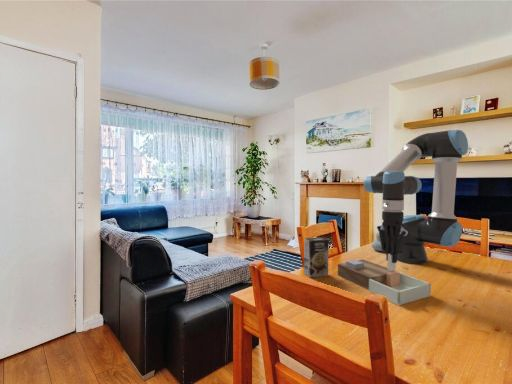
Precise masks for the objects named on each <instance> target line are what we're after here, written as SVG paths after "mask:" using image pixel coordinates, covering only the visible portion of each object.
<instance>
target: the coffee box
mask: <svg viewBox="0 0 512 384" xmlns="http://www.w3.org/2000/svg"><path fill="white" fill-rule="evenodd" d="M303 239H304V243H303V249H304V250H303V253H304V254H303V255H304V256H303V273H304V275H306V276H307V277H308V278H316V277H327V276H329V247H330V245H329V241H330V239H328V238H325V237H322V236H319V237H318V236H317V237H307V238H305V237H304V238H303Z"/></svg>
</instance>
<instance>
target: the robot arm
mask: <svg viewBox="0 0 512 384" xmlns="http://www.w3.org/2000/svg"><path fill="white" fill-rule="evenodd" d="M468 150H469V143H468V138H467V135H466V134H465V132H464V131H463V130H461V129H452V130H451V129H449V130H444V131H436V132H435V131H433V132H427V133H423V134H420V135H418V136H416V137H415V138H412V139H411V140H410V141H408V142H407V143H406V144H405V145H403V147H402V148H401V151H399V153H398V154H397V155H396V156H395V157H393V158H392V159H391V161H389V162H388V163H387V164H386V165H385V166H384V167H383V168H382V169H381V170H379V172H378V173H377V174H376V175H370V176H366V177H365V179H364V180H363V187H364V190H365V191H366V192H367V193H373V194H382V208H381V209H382V211H381V220H383V221H382V224H381V225H377V227H376V229H377V231H378V233H379V235H380V241H381V247H382V250H384V251H386V252H385V253H386V255H385V256H386V257H385V258H386V259H385V260H386V261H387V267H386V268H387V270H389V271H393V270H394V271H397V270H396V269H397V268H396V266H397V265H396V264H397V263H398V261H399V262H401V263H402V262H403V263H406V264H414V265H423V264H427V263H428V262H429V260H428V257H429V256H428V255H427V251H426V249H425V243H426V244H432V245H438V246H441V247H451V248H452V247H455V246H457V244H458V243H459V242H460V239H461V237H462V233H463V225H462V223H461V222H459V221H458V217H457V216H456V215H455V202H456V201H455V199H456V198H455V197H456V187H457V186H456V185H457V172H458V163H459V162H460V161H462V159H463V158H462V157H463V156H464V155H466V154H468V152H469V151H468ZM428 157H429V158H430V157H431V161H433V162H434V173H433V174H434V177H433V188H432V189H433V191H432V192H433V193H432V204H431V213H429V214H428V215H427V218H426V216H425V215H424V214H413V215H410V214H409V215H405V214H404V211H405V195H406V196H407V195H414V194H417V193H419V192H420V191H421V190H422V186H423V185H422V181H421V179H420V178H418V177H417V176H415V175H405V171H406V170H407V169H408V168H409V167H410V166H411V165H412V164H413V163H414V162H417V161H419V160H420V159H421V158H428Z"/></svg>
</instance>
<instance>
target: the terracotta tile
mask: <svg viewBox="0 0 512 384" xmlns="http://www.w3.org/2000/svg"><path fill="white" fill-rule="evenodd" d="M396 271H397V270H394V272H389V273H387V276H386V286H389V287H394V286H398V285H400V273H401V272H399V271H397V272H396Z"/></svg>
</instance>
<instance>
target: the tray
mask: <svg viewBox="0 0 512 384" xmlns="http://www.w3.org/2000/svg"><path fill="white" fill-rule="evenodd" d="M399 273H400V285H398V286H394V287H389V286H386V285H383V284H381V283H379V282H376V281H374V280H372V279H369V290H368V292H369V293H373V295H376V294H381V295H384V296H386V297H387V298H388V300H387V301H389V302H391V303H392V304H395V305H397V306H401V305H405V304H408V303H411V302H415V301H419V300H422V299H426V298H428V297H431V286H432V284H431V283H430V282H427V281H426V280H422V279H419V278H416V277H412V276H410V275H408V274H405V273H402V272H399Z"/></svg>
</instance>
